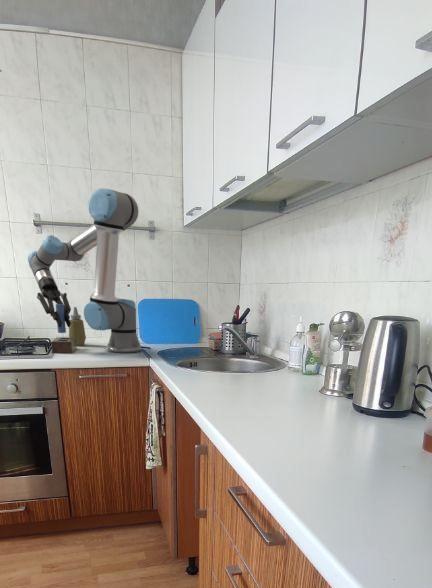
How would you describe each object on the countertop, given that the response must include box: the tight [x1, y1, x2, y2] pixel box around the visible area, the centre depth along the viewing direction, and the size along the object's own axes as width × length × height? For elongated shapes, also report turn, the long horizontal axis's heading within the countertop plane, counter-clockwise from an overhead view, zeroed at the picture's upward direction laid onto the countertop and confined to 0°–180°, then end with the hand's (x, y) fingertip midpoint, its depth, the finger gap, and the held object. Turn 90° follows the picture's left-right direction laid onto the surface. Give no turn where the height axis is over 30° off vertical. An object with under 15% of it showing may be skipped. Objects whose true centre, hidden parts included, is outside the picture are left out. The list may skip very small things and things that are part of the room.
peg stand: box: [50, 336, 77, 354], centre depth 214 cm, size 9×15×5 cm, turn 9°
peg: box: [55, 303, 67, 334], centre depth 206 cm, size 3×3×12 cm
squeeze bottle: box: [68, 306, 87, 347], centre depth 227 cm, size 8×8×18 cm
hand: (64, 325), depth 204 cm, fingers closed on peg, 3 cm apart
